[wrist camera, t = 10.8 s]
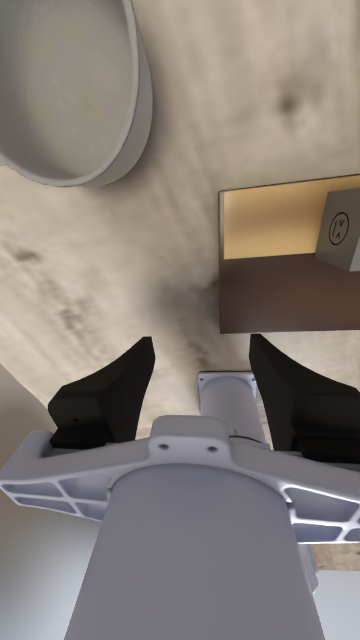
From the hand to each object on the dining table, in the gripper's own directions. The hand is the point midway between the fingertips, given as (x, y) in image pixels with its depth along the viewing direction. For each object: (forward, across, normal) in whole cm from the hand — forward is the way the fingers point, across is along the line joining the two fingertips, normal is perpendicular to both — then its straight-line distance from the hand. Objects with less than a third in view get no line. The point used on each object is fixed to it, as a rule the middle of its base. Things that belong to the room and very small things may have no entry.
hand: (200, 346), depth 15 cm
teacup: (+10, +9, -16) cm, 21 cm away
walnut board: (+9, -13, -3) cm, 16 cm away
